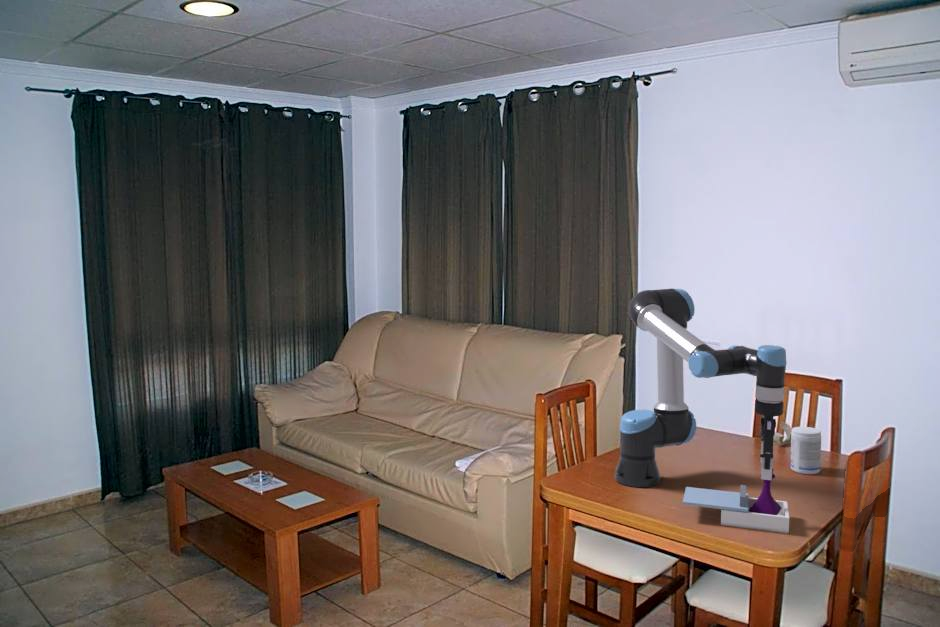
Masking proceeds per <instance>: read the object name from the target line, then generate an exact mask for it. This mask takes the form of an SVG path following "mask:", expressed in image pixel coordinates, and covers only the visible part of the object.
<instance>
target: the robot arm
mask: <svg viewBox="0 0 940 627" xmlns="http://www.w3.org/2000/svg"><path fill="white" fill-rule="evenodd" d="M628 315H629V318H630V320H631V321H632V323H633V324H634V326H636V327H637V328H638V329H639V330H641V331H644V332H649V333H650V334H651V335H653V336H654V337H655V338H656V353H657V354H656V358H657V359H656V361H657V363H656V365H657V403H655V404H654V405H653V410H651V409H633V410H630V411H627V412H626V413H624V414H623V415H622V416H621V419H620V425H619V430H620V434H619V436H620V438H619V439H620V440H619V442H620V443H619V444H620V447H619V449H620V450H619V454H620V455H619V459H618V463H617V465H616V467H615V470H614V471H615V472H614V480H615V481H616V482H617V483H619V484H620V485H623V486H627V487H631V488H633V487H634V488H650V487H655V486H657V485H659V484H660V483H661V473H660V470H659V466H658V464H657V461H656V460H657V459H656V449H658V448H659V449H660V448H665V447H673V446H681V445H683V444H688V443H690V442H691V440H693V439H694V437H695V434H696V432H697V420H696V418H694V417H695V415H694V413H693V412H692V411H690V410H689V406H688V404H686V402H685V396H684V395H685V393H684V392H685V391H684V389H685V388H684V387H685V386H684V361H686V362H687V364H688V369H689V371H690V372H691V375H692V376H694V377H695V378H702V379H703V378H705V379H709V378H714V377H722V376H731V375H741V374H747V375H750V376H754V377H756V381H755V391H754V392H755V395H754V396H755V399H756V400H755V401H754V412H755V414H758V415H760V416H762V417H760V427H761V443H760V444H761V445H760V446H761V447H760V455H759V458H760V465H761V472H760V475H761V476H760V480H763V481H764V480H773V479H772V468H773V462H774V461H773V460H774V459H773V458H774V443H773V436H774V435H775V433H776V427H777V419H776V418H774V417H780V416H782V415H783V414H784V407H785V406H784V402H783V401H784V399H785V397H784V396H785V395H784V394H786V393H787V392H788V391H787V389H785V385H786V384H785V382H786V369H787V368H786V367H787V364H788V362H787V353H786V352H787V351H786V348H784V347H782V346H779V345H772V344H769V345H766V344H765V345H760V346H758V349H754V348H751V347H747V346H745V345H731V346H730V347H728V348H726V349H714V348H712V347H711V346H710V345H708V344H706V343H705V342H704V341H702V340H701V339H700V338H698V337H697V336H696V335H694V334H693V333H692V332H690V331H689V330H687V329H688V322H690V321H691V320H692V319H693V317H694V315H695V304H694V301H693V298H692V296H691V295H690V294H689V293H688V292H687V291H686V290H685V289H682V288H663V289H646V290H641V291H640V292H637V293H636V294H635V295H634V296H632V298H631V300H630V302H629V304H628Z"/></svg>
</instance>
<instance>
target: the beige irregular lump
mask: <svg viewBox="0 0 940 627" xmlns="http://www.w3.org/2000/svg"><path fill="white" fill-rule="evenodd" d="M779 426H780V428H781V430H782V431H783V432H785V434H786V438H785V435H784V434H781V433H780V432H776V431H775V435H774V436H773V442H774V443H773V444H776V445H779V446H780V447H782V446H786V445H787V446H788V445H790V446H791V432H792V427H791V426H790V424H788V423H787V422H783V421H782V422H781V423H780V424H779ZM784 438H785V439H784ZM783 439H784V440H783ZM782 440H783V441H782ZM785 444H786V445H785Z"/></svg>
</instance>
